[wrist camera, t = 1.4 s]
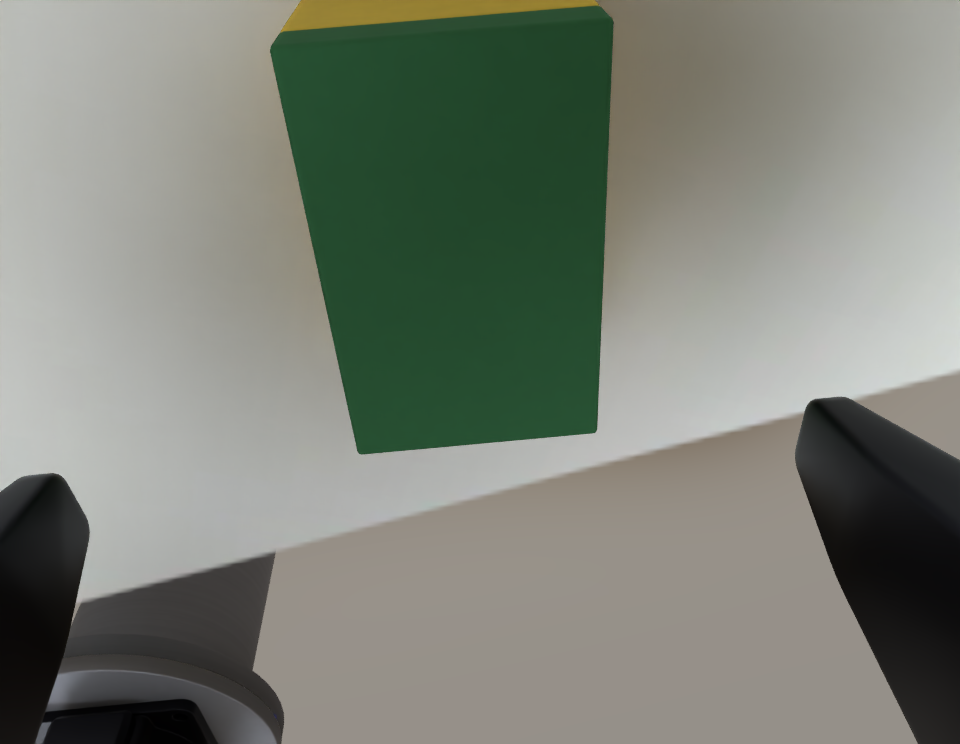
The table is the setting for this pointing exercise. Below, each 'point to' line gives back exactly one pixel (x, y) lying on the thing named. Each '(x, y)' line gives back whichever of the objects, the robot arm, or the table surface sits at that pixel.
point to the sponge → (455, 209)
